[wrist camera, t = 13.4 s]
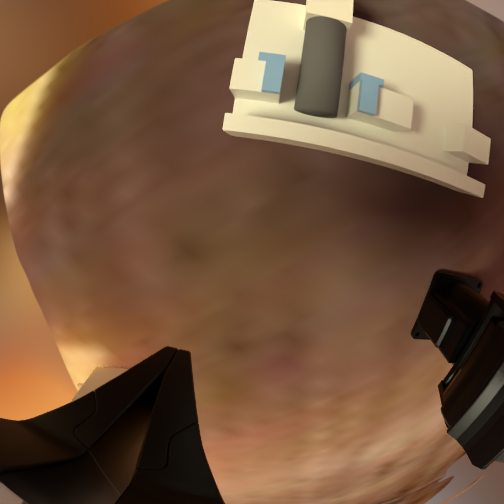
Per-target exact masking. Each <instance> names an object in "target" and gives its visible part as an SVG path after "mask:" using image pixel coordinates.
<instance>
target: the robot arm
mask: <svg viewBox="0 0 504 504" xmlns="http://www.w3.org/2000/svg"><path fill="white" fill-rule="evenodd" d="M439 276H440V278H439V279H438V277H439ZM482 284H483V282H482V281H481V280H480V279H477V278H472V277H467V276H462V275H457V274H452V273H447V272H442V271H437V272H436V273H435V274H434V276H433V279H432V282H431V285H430V288H429V290H428V293H427V296H426V298H425V301H424V303H423V306H422V308H421V311H420V313H419V315H418V318H417V320H416V322H415V325H414V327H413V329H412V331H411V336H412V337H413V339H426V340H431V341H432V342H433V344H434V345H435V347H437V348H438V349H439V350H440V351H441V353H442V354H443V356H444V357H445V358H446V360H447V361H448V363H452V364H453V367H452V368H451V370H450V371H449V373H448V374H447V375H446V377H445V378H444V380H442V381H441V382H440V383H439V385H438V389H439V393H440V398H441V404H442V407H441V413H442V415H443V418H444V420H445V424H446V426H447V428H448V430H447V433H448V434H449V435H451V436H452V437H453V438H454V439H456V440H457V441H458V442H459V444H460V445H461V446H462V447H463V449H464V450H465V452H466V453H467V455H468V457H469V459H470V461H471V463H472V464H473V465H474V466H476V467H478V468H480V469H486V468H487V467H488V466H489V465H490V464H491V463H493V462H494V461H498V462H504V294H501V293H499V292H496V291H493V293H492V295H491V297H490V298H491V300H490V302H489V301H488V300H487V299H486V298H484V297H483V296H482V295H481V294H479V293H480V290H481V288H482ZM416 333H417V334H416ZM94 391H95V392H94ZM94 391H91V392H89V393H88V394H86V395H84V396H82V397H80V398H78V399H76V400H75V401H73V402H70V403H68V404H66V405H64V406H61V407H59V408H57V409H54V410H52V411H50V412H47V413H44V414H42V415H39V416H37V417H34V418H31V419H27V420H21V421H15V420H8V419H3V418H0V504H225V503H224V501H223V499H222V497H221V494H220V492H219V490H218V487H217V485H216V482H215V480H214V477H213V475H212V472H211V470H210V467H209V464H208V462H207V459H206V455H205V452H204V449H203V446H202V441H201V436H200V430H199V424H198V416H197V408H196V400H195V392H194V383H193V373H192V363H191V353H190V351H186V350H182V349H179V350H178V349H177V348H173V347H169V346H166V347H164V348H163V349H161V350H160V351H158V352H156V353H155V354H153V355H151V356H150V357H148V358H147V359H145V360H143V361H142V362H140V363H138V364H137V365H135V366H133V367H132V368H130V369H128V370H127V371H125V372H123V373H122V374H120V375H118V376H117V377H115V378H113V379H112V380H110V381H108V382H107V383H105V384H103V385H102V386H100V387H98V388H96V389H95V390H94Z"/></svg>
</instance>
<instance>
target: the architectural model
mask: <svg viewBox="0 0 504 504" xmlns="http://www.w3.org/2000/svg"><path fill="white" fill-rule="evenodd" d="M127 370H128V369H122V368H107V367H96V368H95V370H94V371H93V372H92V374H91V375H90V376H89V378H88V379H87V380H86V382H85V383H84V384H81V383H79V384H78V387H79V388H80V390H79V391H78V393H77V394H76V396H75V397H74V398H73V400H72V401H71V402H73V401H75V400H76V399H78V398H80V397H82V396H84V395H86V394H88V393H89V392H91V391H94V390H95V389H96V388H98V387H100V386H102V385H103V384H105V383H107V382H108V381H110V380H112V379H113V378H115V377H117V376H118V375H120V374H122V373H123V372H125V371H127ZM94 392H95V391H94Z"/></svg>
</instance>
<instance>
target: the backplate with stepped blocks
mask: <svg viewBox="0 0 504 504" xmlns="http://www.w3.org/2000/svg"><path fill="white" fill-rule="evenodd" d="M305 10H306V5H300V4H294V3H287V2H279V1H270V0H254V5H253V9H252V14H251V19H250V23H249V28H248V33H247V38H246V43H245V48H244V53H243V58H242V59H240V58H235V61H234V67H233V72H232V77H231V83H230V88H229V89H230V90H231V92H232V94H233V95H234V97H235V102H234V108H233V114H231V113H225V117H224V123H223V131H225V132H226V133H228V134H229V135H231V136H237V137H245V138H252V139H259V140H266V141H272V142H278V143H284V144H290V145H295V146H301V147H306V148H311V149H316V150H320V151H325V152H329V153H334V154H338V155H342V156H347V157H351V158H355V159H358V160H362V161H366V162H370V163H373V164H377V165H381V166H384V167H387V168H391V169H394V170H397V171H401V172H404V173H407V174H410V175H413V176H416V177H419V178H422V179H425V180H428V181H431V182H433V183H436V184H439V185H442V186H444V187H447V188H449V189H452V190H455V191H457V192H461V193H465V194H469V195H473V196H477V197H480V198H483V196H484V190H485V184H483V183H481V182H479V181H477V180H475V179H473V178H470V177H468V176H467V172H468V164H469V163H477V164H486V165H488V163H489V153H490V141H491V139H490V138H489V137H487V136H485V135H484V134H482V133H480V132H479V131H477V130H475V129H473V128H472V121H473V74H472V69H470V68H468V67H467V66H465V65H463V64H462V63H460V62H458V61H457V60H455V59H453V58H451V57H450V56H448V55H446V54H444V53H442V52H440V51H438V50H436V49H434V48H433V47H430V46H428V45H426V44H424V43H422V42H420V41H418V40H416V39H413V38H411V37H409V36H406V35H404V34H402V33H399V32H397V31H394V30H392V29H389V28H386V27H384V26H381V25H378V24H375V23H372V22H369V21H366V20H363V19H360V18H356V17H353V20H352V25H351V26H350V28H349V30H348V31H347V33H346V42H345V53H344V63H343V73H342V82H341V90H340V99H339V106H338V114H337V117H336V118H321V117H315V116H310V115H306V114H302V113H300V112H297V111H295V110H294V105H295V98H296V91H297V85H298V78H299V71H300V64H301V57H302V50H303V42H304V35H305V30H303V25H304V17H305Z"/></svg>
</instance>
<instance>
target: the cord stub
mask: <svg viewBox="0 0 504 504" xmlns="http://www.w3.org/2000/svg"><path fill="white" fill-rule="evenodd" d="M352 20H353V0H307V2H306V10H305V17H304V25H303V30H305V35H304V42H303V50H302V57H301V64H300V71H299V78H298V85H297V91H296V98H295V105H294V110H295V111H297V112H300V113H302V114H306V115H310V116H315V117H321V118H336V117H337V114H338V106H339V99H340V90H341V82H342V73H343V63H344V53H345V42H346V33H347V31H348V30H349V28H350V26H351V25H352Z"/></svg>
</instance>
